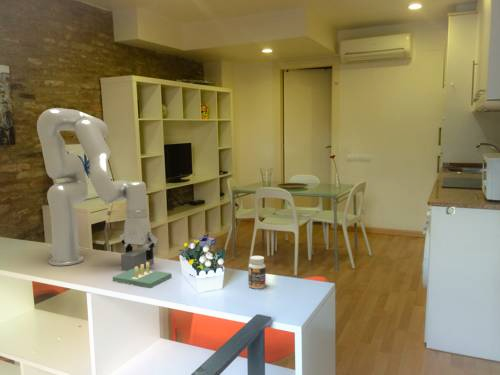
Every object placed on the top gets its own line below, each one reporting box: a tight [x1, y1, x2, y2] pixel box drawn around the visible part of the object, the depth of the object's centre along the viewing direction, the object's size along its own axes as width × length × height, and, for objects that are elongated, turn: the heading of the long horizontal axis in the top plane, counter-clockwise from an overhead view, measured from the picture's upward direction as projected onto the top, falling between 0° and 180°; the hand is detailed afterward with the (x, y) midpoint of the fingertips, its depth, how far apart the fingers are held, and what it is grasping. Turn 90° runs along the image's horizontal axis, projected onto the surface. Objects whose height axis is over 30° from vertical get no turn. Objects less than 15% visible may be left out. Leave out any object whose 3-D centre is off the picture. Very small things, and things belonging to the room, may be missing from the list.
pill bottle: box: [247, 255, 267, 290], centre depth 147 cm, size 6×6×10 cm
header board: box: [112, 262, 172, 289], centre depth 154 cm, size 16×12×5 cm
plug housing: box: [120, 246, 155, 272], centre depth 169 cm, size 12×6×6 cm, turn 155°
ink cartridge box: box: [190, 233, 217, 252], centre depth 162 cm, size 10×6×14 cm, turn 155°
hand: (139, 258), depth 169 cm, fingers open, 9 cm apart
